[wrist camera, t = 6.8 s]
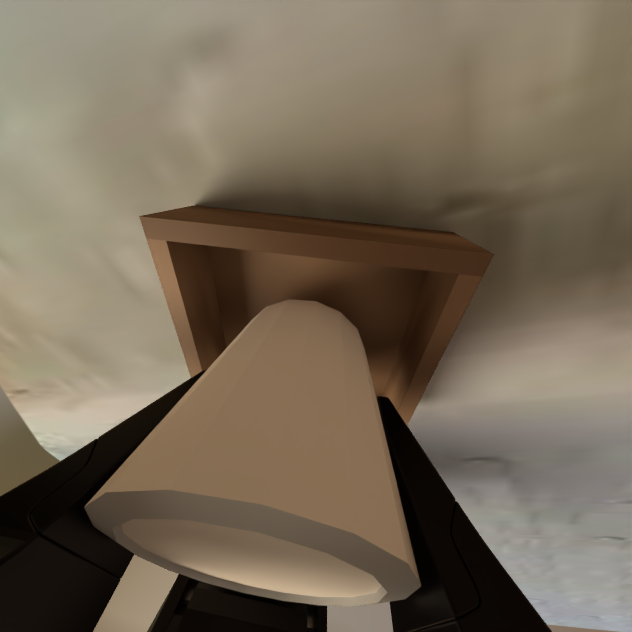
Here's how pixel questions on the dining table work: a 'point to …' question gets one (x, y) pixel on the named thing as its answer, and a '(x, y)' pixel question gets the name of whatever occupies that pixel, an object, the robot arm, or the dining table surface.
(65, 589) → the robot arm
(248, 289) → the walnut crate
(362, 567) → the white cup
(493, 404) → the dining table surface
